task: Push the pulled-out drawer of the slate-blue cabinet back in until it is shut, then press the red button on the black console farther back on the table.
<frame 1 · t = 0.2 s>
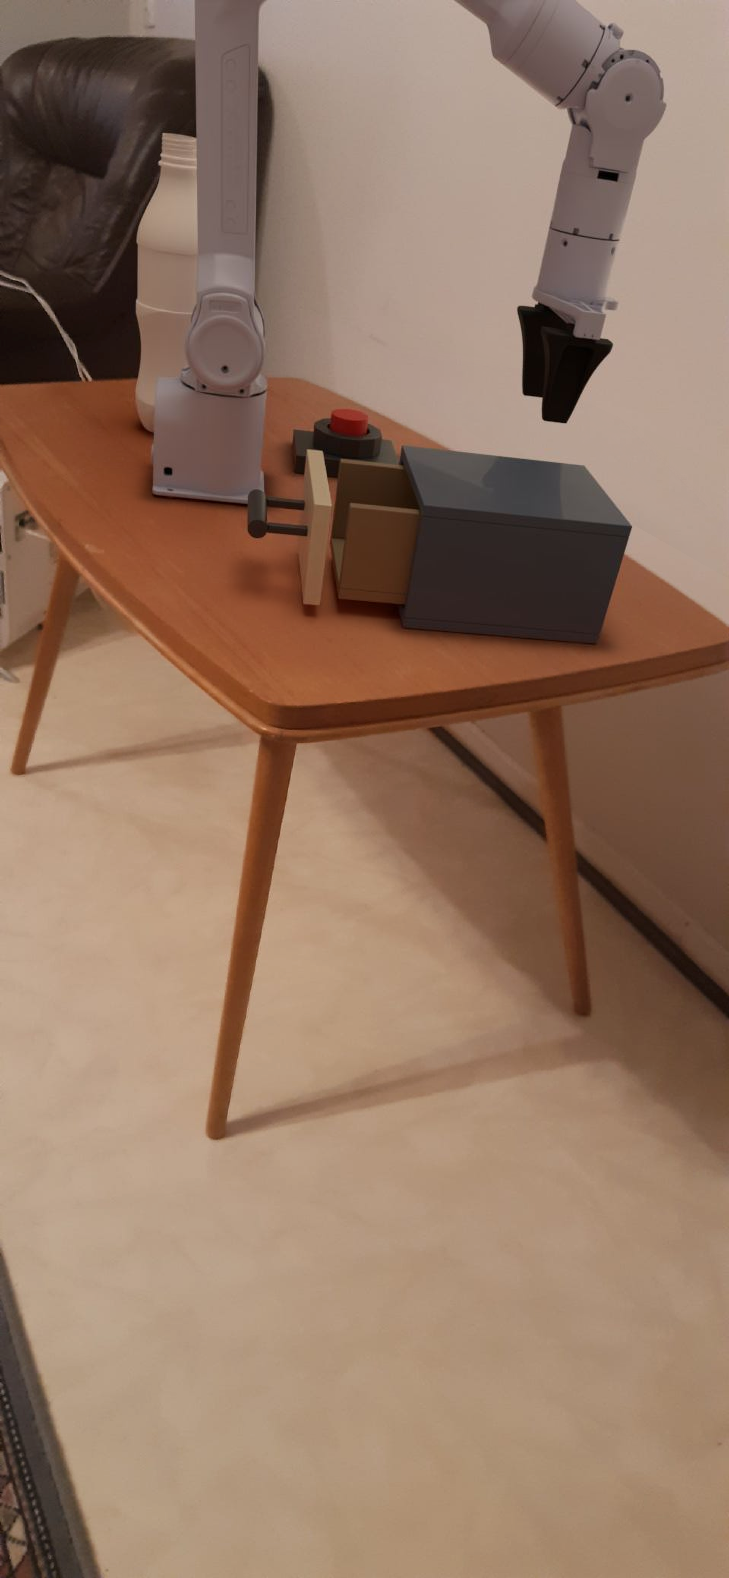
hand: (543, 408, 89), 10 cm above the table, tool pointing down, fingers open, 7 cm apart
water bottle: (171, 431, 102), on the table
button: (349, 423, 99), point 4 cm above the table, slide at 0.1 cm
cabinet: (485, 598, 79), on the table
drawer: (368, 530, 75), point 5 cm above the table, slide at 6.0 cm
console: (343, 464, 101), on the table
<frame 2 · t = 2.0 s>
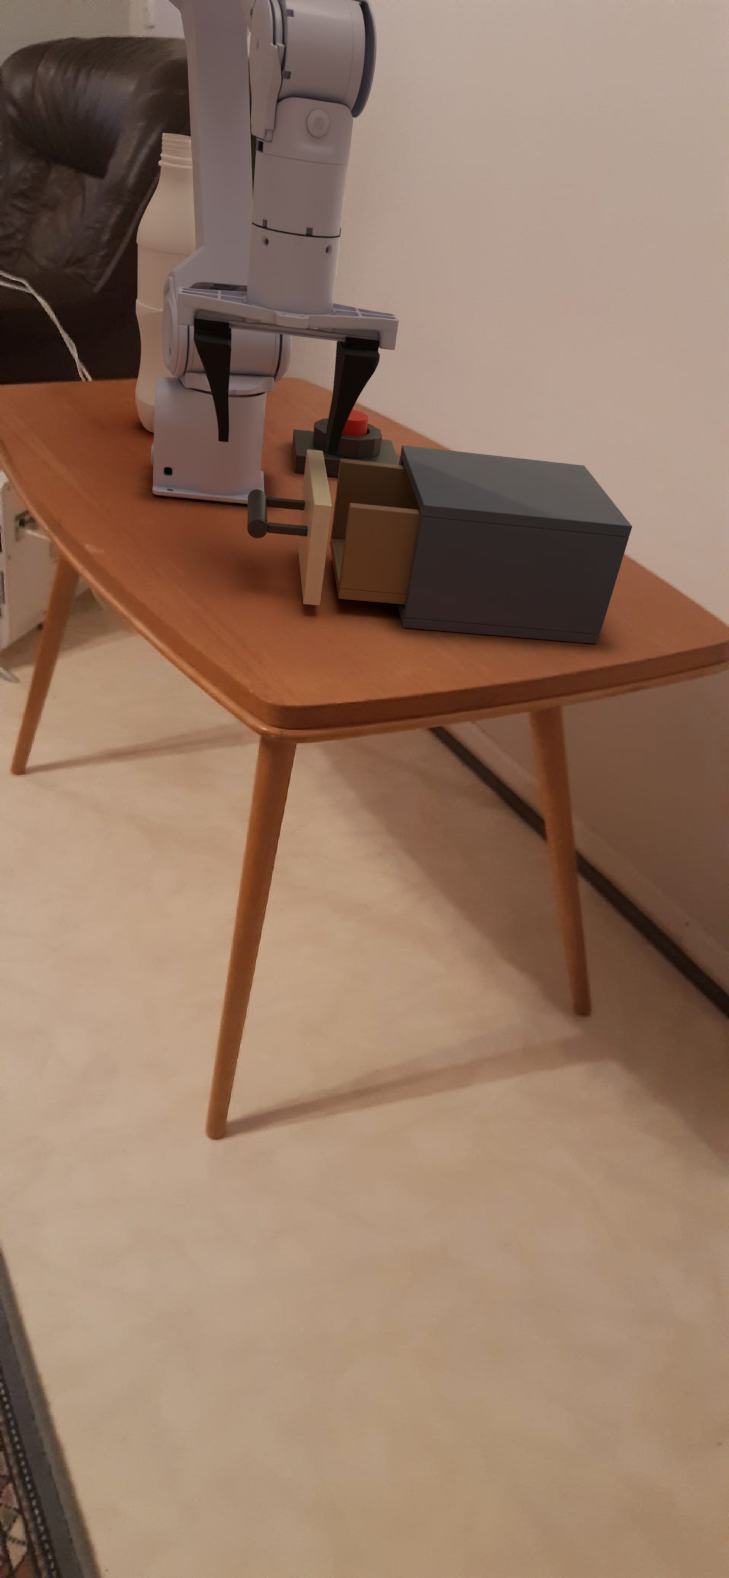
hand: (277, 443, 73), 10 cm above the table, tool pointing down, fingers open, 7 cm apart
nothing on the table moved.
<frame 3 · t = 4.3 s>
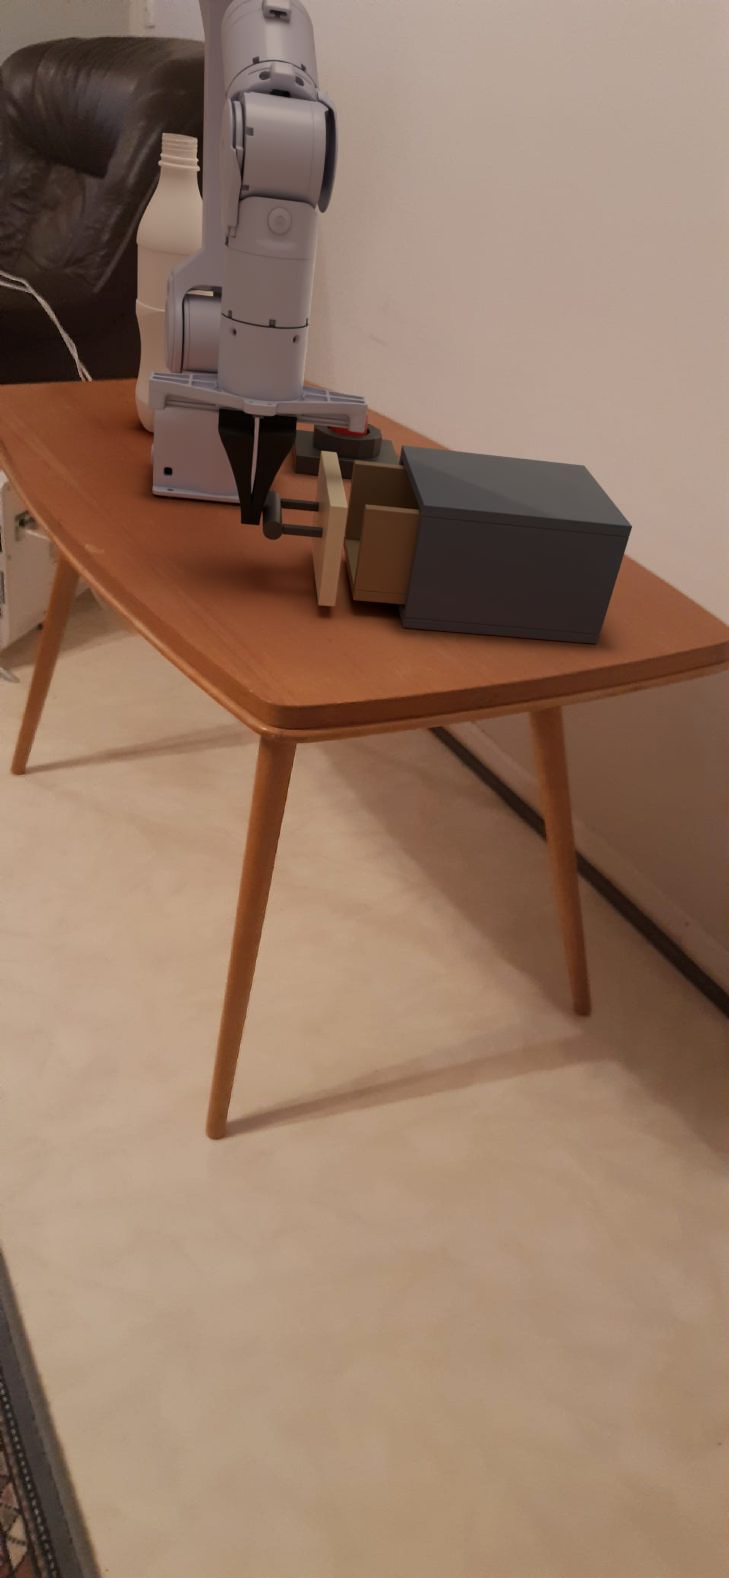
hand: (250, 519, 74), 4 cm above the table, tool pointing down, fingers closed
drawer: (382, 531, 75), point 5 cm above the table, slide at 4.9 cm, touching gripper
everything else where it was.
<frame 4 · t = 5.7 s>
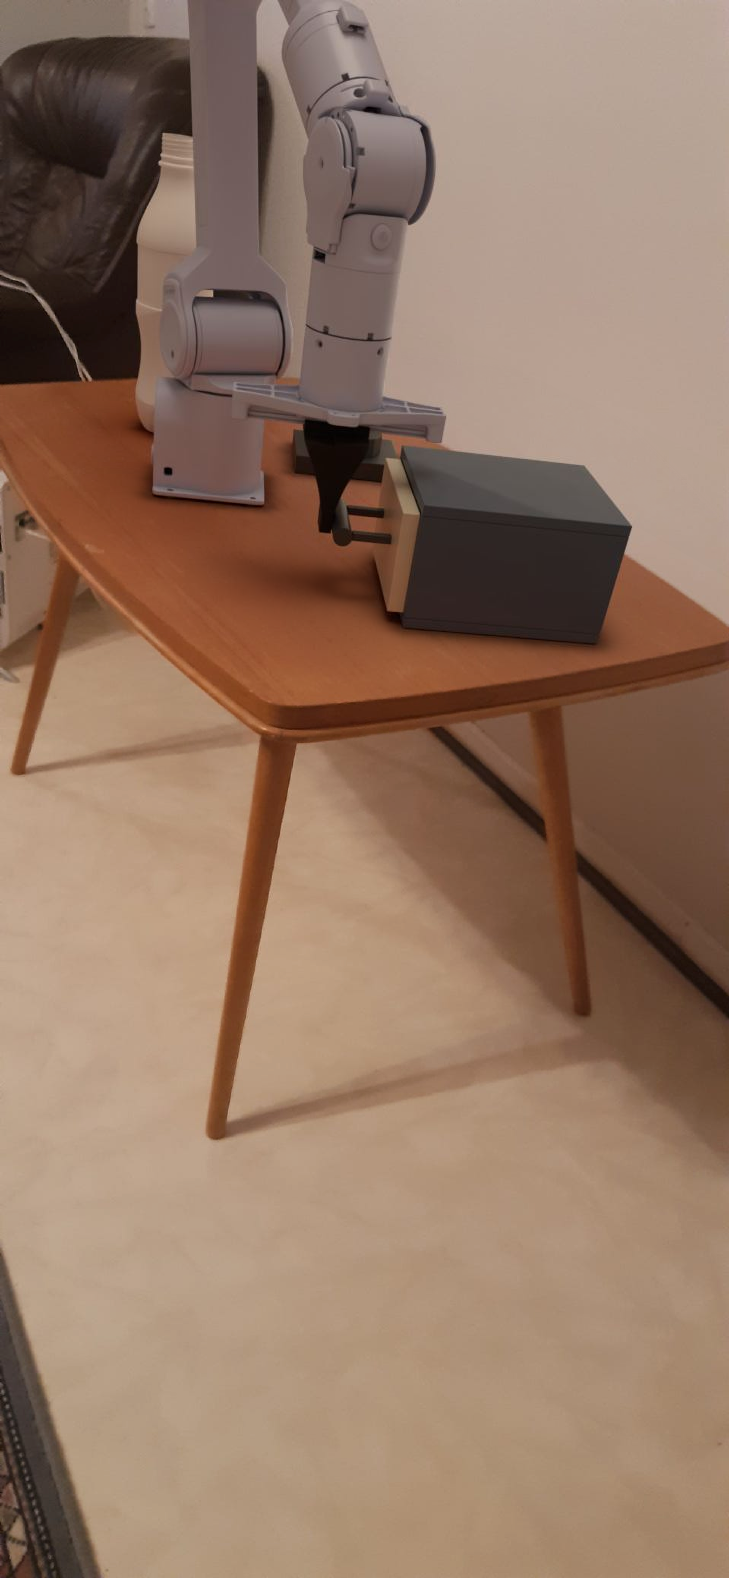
hand: (324, 528, 75), 4 cm above the table, tool pointing down, fingers closed, pressing on drawer
drawer: (447, 538, 76), point 5 cm above the table, slide at 0.0 cm, touching cabinet, gripper
everything else where it was.
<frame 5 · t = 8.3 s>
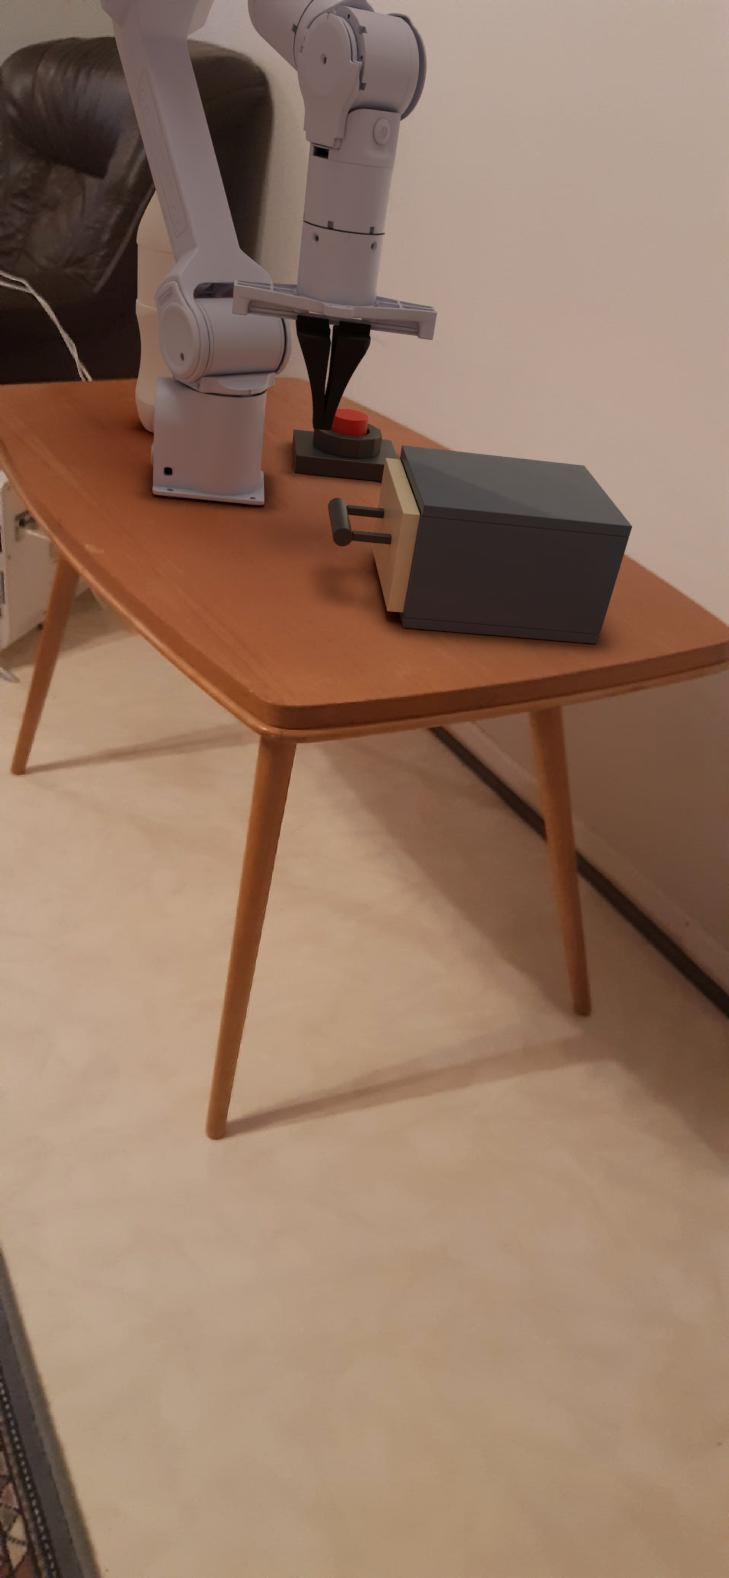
hand: (321, 426, 78), 9 cm above the table, tool pointing down, fingers closed
drawer: (447, 538, 76), point 5 cm above the table, slide at 0.0 cm, touching cabinet
everything else where it was.
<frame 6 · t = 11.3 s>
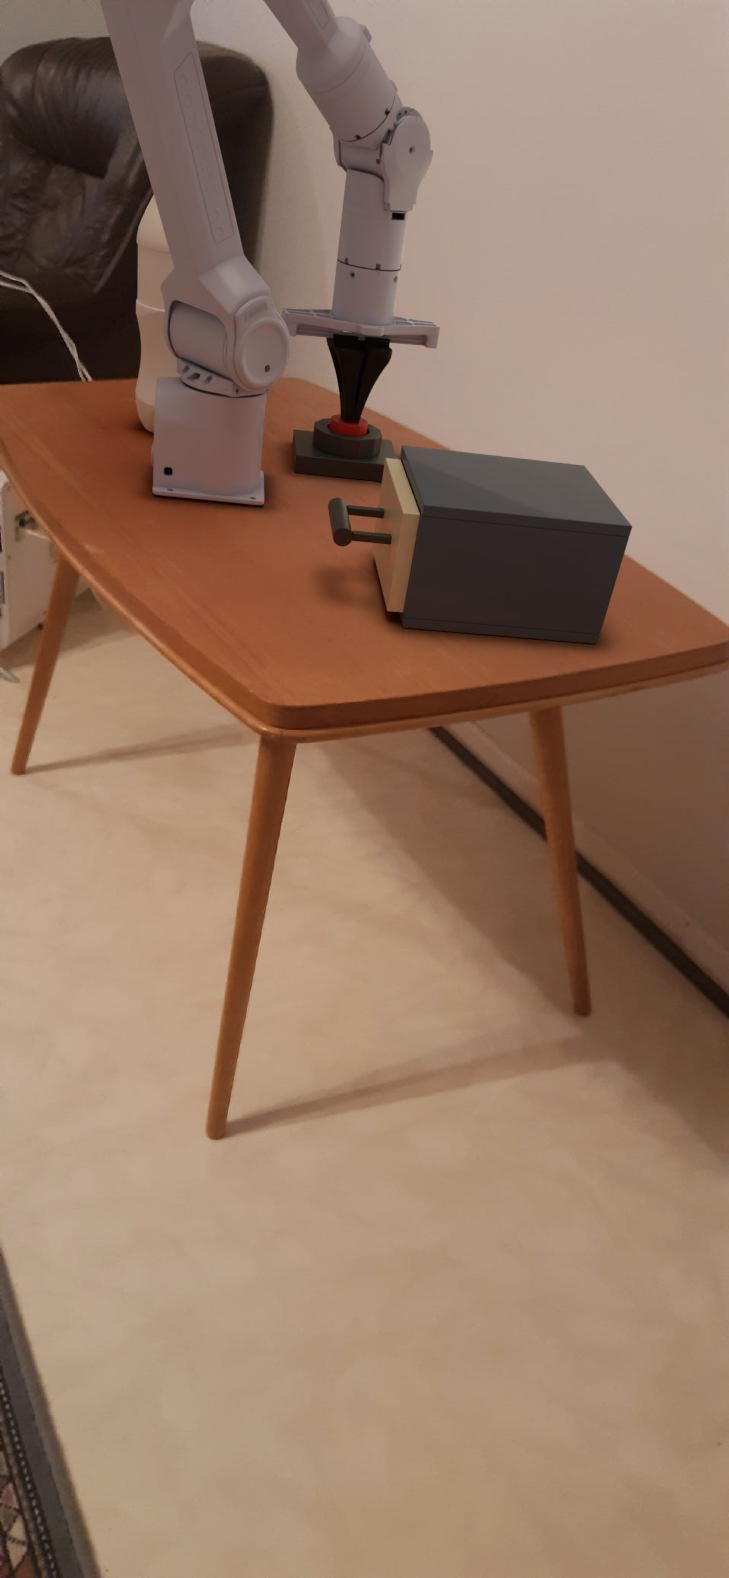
hand: (349, 420, 98), 4 cm above the table, tool pointing down, fingers closed, pressing on button
button: (348, 429, 99), point 3 cm above the table, slide at -0.4 cm, touching gripper
everything else where it was.
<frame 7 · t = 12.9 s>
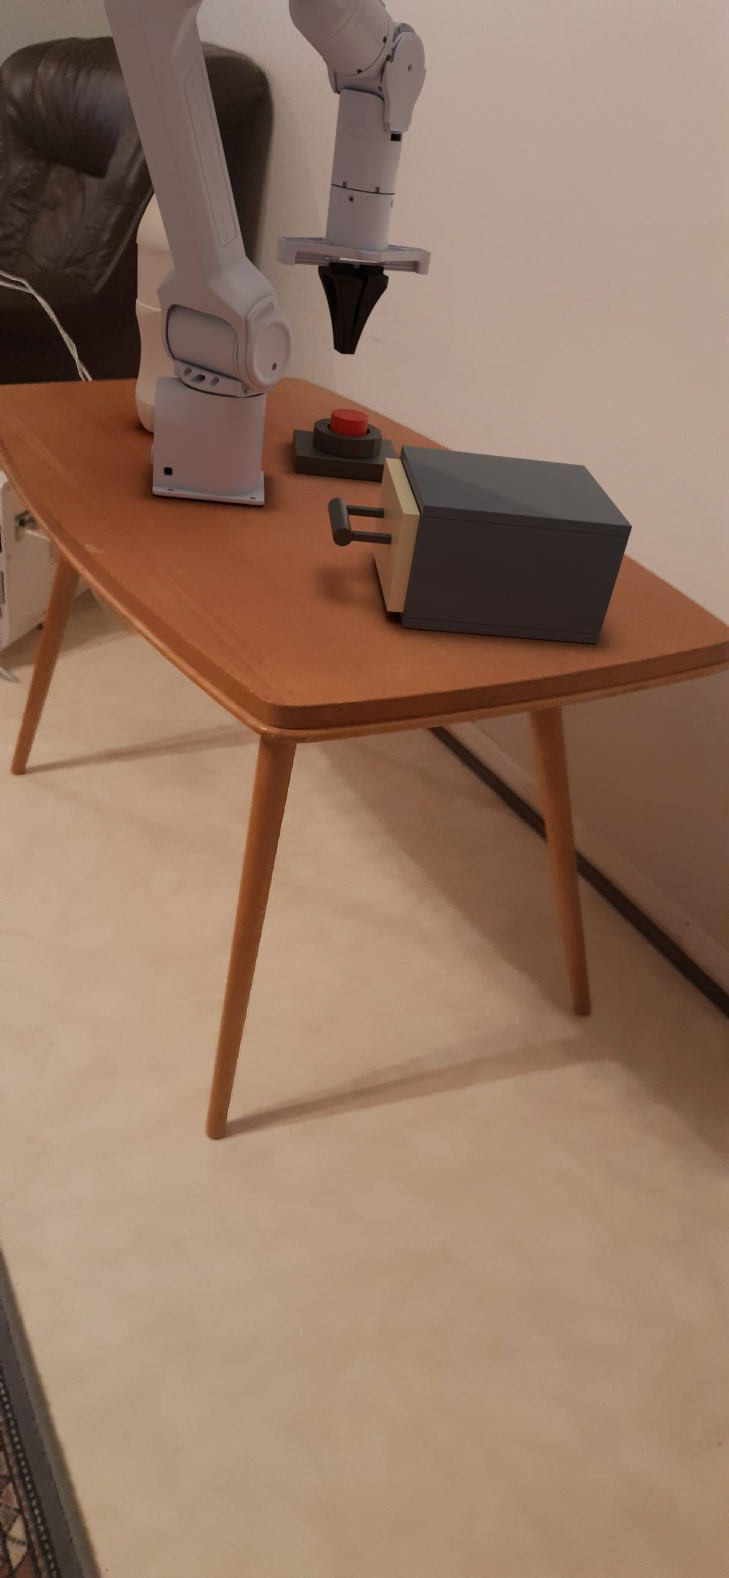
hand: (344, 351, 98), 10 cm above the table, tool pointing down, fingers closed
button: (349, 423, 99), point 4 cm above the table, slide at 0.1 cm
everything else where it was.
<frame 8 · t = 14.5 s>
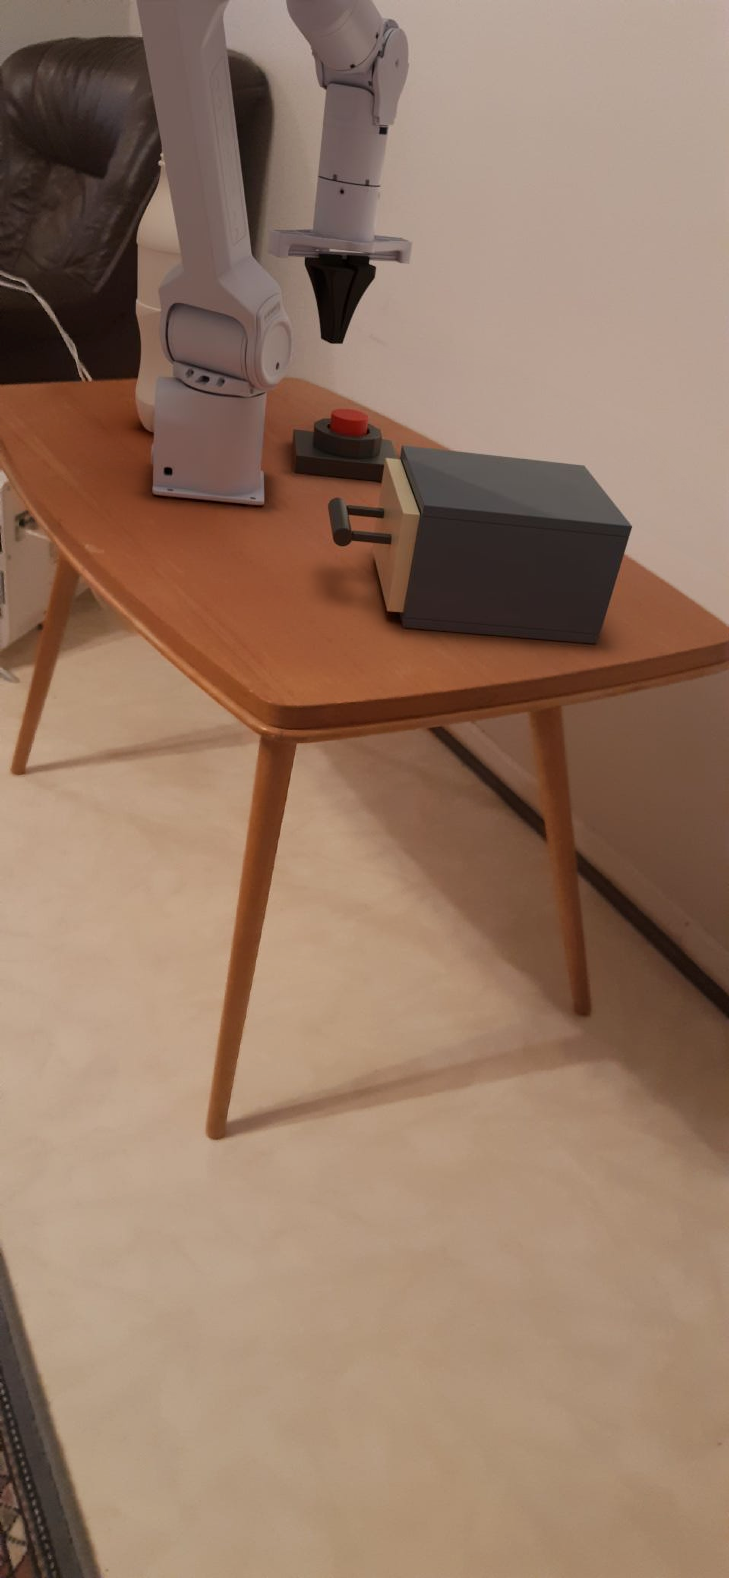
hand: (331, 341, 100), 10 cm above the table, tool pointing down, fingers closed
nothing on the table moved.
at the end: drawer slide at 0.0 cm; button pushed in 1.2 cm at the most during the clip, back to where it started at the end; button slide at 0.1 cm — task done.
